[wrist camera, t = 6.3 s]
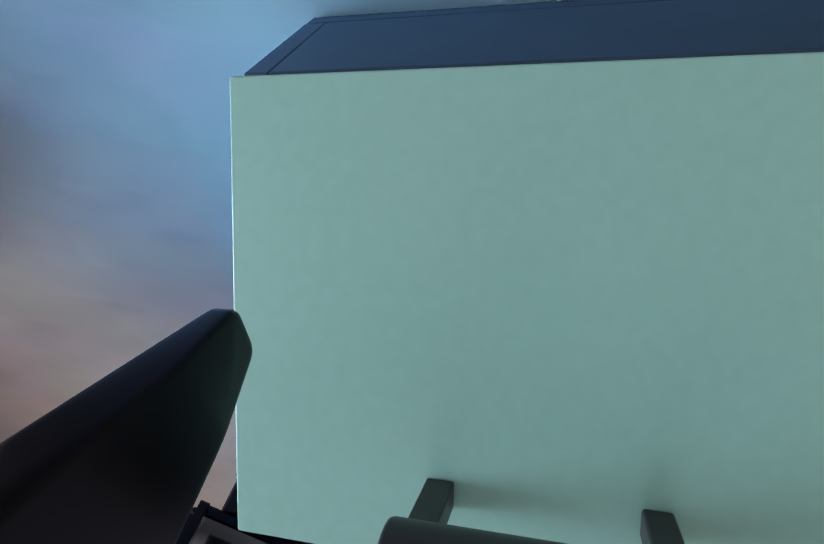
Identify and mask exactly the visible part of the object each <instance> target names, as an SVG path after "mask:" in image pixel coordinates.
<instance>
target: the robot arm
mask: <svg viewBox="0 0 824 544" xmlns="http://www.w3.org/2000/svg"><path fill="white" fill-rule="evenodd" d="M251 358H252V344H251V341H250V338H249V336H248V333H247V331H246V328H245V326H244V324H243V321H242V319H241V316H240V315H239V313H237V312H236V311H234V310H228V309H212V310H209V311H208V312H206V313H205V314H203V315H201V316H200V317H198V318H197V319H195V320H193V321H192V322H190V323H189V324H187V325H186V326H184V327H182V328H181V329H179V330H178V331H176V332H175V333H173V334H171V335H170V336H168V337H167V338H165V339H164V340H162V341H160V342H159V343H157V344H156V345H154V346H153V347H151V348H149V349H148V350H146V351H145V352H143V353H142V354H140V355H138V356H137V357H135V358H134V359H132V360H131V361H129V362H127V363H126V364H124V365H123V366H121V367H120V368H118V369H116V370H115V371H113V372H112V373H110V374H109V375H107V376H105V377H104V378H102V379H101V380H99V381H98V382H96V383H94V384H93V385H91V386H90V387H88V388H87V389H85V390H83V391H82V392H80V393H79V394H77V395H76V396H74V397H72V398H71V399H69V400H68V401H66V402H64V403H63V404H61V405H60V406H58V407H57V408H55V409H53V410H52V411H50V412H49V413H47V414H46V415H44V416H42V417H41V418H39V419H38V420H36V421H35V422H33V423H31V424H30V425H28V426H27V427H25V428H24V429H22V430H20V431H19V432H17V433H16V434H14V435H13V436H11V437H9V438H8V439H6V440H5V441H3V442H2V443H1V444H0V544H314V543H308V542H302V541H297V540H291V539H286V538H280V537H275V536H269V535H264V534H258V533H252V532H247V531H241V530H238V504H237V478H236V483H235V485H234V487H233V489H232V491H231V492H230V494H229V496H228V498H227V500H226V502H225V504H224V506H223V508H222V510H219V509H217V508H215V507H212V506H210V503H208V502H205V501H203V500H201V501H200V503H199V505H198V507H197V508H196V507H194V508H193V505H194V503H195V501H196V499H197V497H198V495H199V492H200V490H201V488H202V486H203V484H204V481H205V479H206V477H207V475H208V473H209V471H210V468H211V466H212V464H213V462H214V460H215V458H216V455H217V453H218V451H219V449H220V446H221V444H222V442H223V439H224V437H225V434H226V431H227V429H228V426H229V423H230V420H231V417H232V414H233V411H234V408H235V405H236V403H237V400H238V397H239V394H240V391H241V388H242V385H243V382H244V379H245V376H246V373H247V370H248V367H249V364H250V361H251Z"/></svg>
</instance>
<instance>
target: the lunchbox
mask: <svg viewBox="0 0 824 544" xmlns="http://www.w3.org/2000/svg"><path fill="white" fill-rule="evenodd" d="M805 52H824V0H573V1H558V2H543V3H529V4H514V5H499V6H485V7H470V8H455V9H440V10H426V11H411V12H396V13H381V14H367V15H352V16H337V17H322V18H314V19H312V20H311V21H310V22H309V23H307V24H306V25H304V26H303V27H302V28H301V29H299V30H298V31H297V32H296V33H294V34H293V35H292V36H291V37H289V38H288V39H287V40H286V41H284V42H283V43H282V44H281V45H279V46H278V47H277V48H276V49H274V50H273V51H272V52H271V53H270V54H268V55H267V56H266V57H265V58H263V59H262V60H261V61H260V62H258V63H257V64H256V65H255V66H253V67H252V68H251V69H250V70H248V71H247V72H246V73H245V76H257V75H281V74H304V73H328V72H352V71H376V70H400V69H424V68H447V67H471V66H495V65H519V64H543V63H567V62H591V61H614V60H638V59H662V58H686V57H710V56H734V55H757V54H781V53H805Z"/></svg>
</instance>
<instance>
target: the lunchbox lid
mask: <svg viewBox="0 0 824 544" xmlns="http://www.w3.org/2000/svg"><path fill="white" fill-rule="evenodd" d="M230 123H231V177H232V232H233V286H234V311H236V312H237V313H239V315H240V316H241V319H242V321H243V324H244V326H245V328H246V331H247V333H248V336H249V338H250V341H251V344H252V358H251V361H250V364H249V367H248V370H247V373H246V376H245V379H244V382H243V385H242V388H241V391H240V394H239V397H238V400H237V403H236V450H237V504H238V530H241V531H247V532H252V533H258V534H264V535H269V536H275V537H280V538H286V539H291V540H297V541H302V542H308V543H314V544H824V52H805V53H781V54H757V55H734V56H710V57H686V58H662V59H638V60H614V61H591V62H567V63H543V64H519V65H495V66H471V67H447V68H424V69H400V70H376V71H352V72H328V73H304V74H281V75H257V76H233V77H230Z"/></svg>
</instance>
